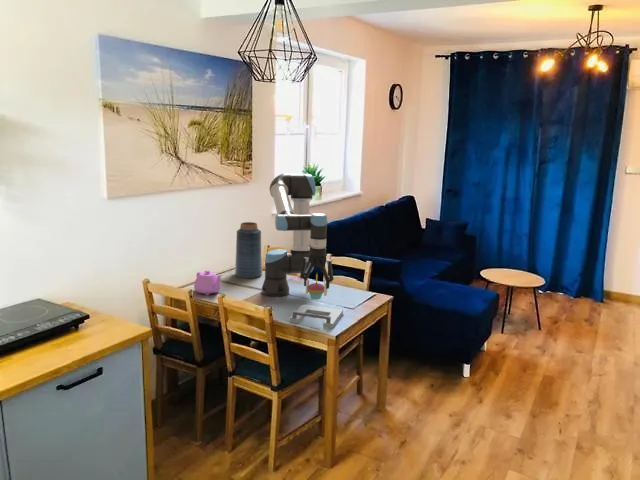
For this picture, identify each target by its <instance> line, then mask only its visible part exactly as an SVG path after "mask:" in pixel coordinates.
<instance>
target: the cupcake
mask: <svg viewBox="0 0 640 480" xmlns="http://www.w3.org/2000/svg"><path fill="white" fill-rule="evenodd" d="M318 279H319V275H318V273H316V274H315V282H314V283H309V286H308V289H307V290H308V294H309V297H310V299H311V300H315V301H317V300H321V299H322V295H324V285H323V284H321V283H319V282H318Z"/></svg>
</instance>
